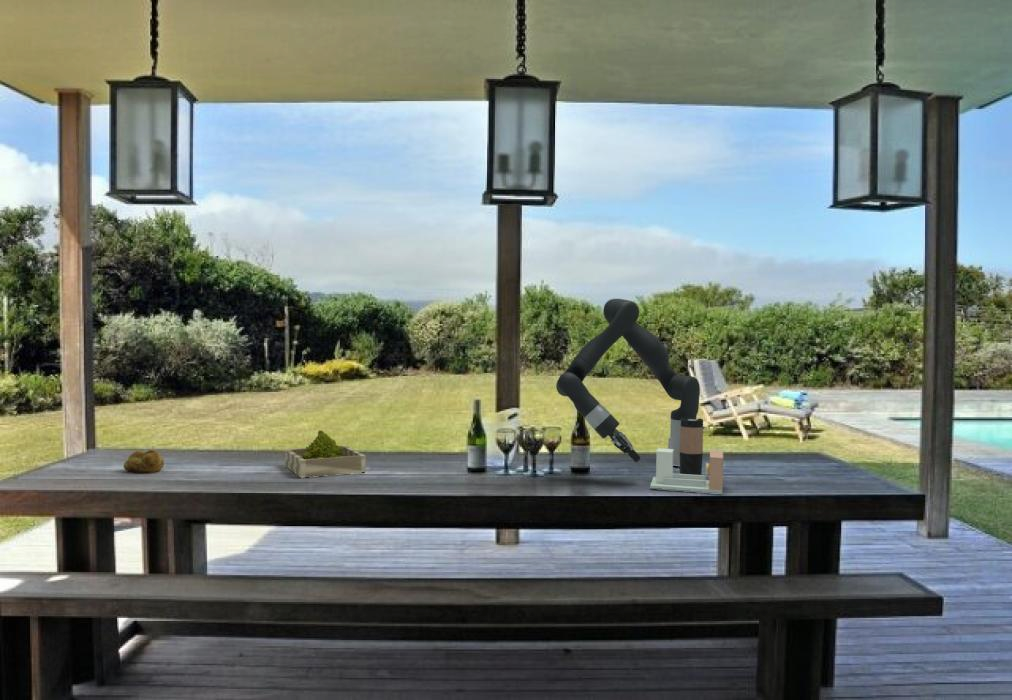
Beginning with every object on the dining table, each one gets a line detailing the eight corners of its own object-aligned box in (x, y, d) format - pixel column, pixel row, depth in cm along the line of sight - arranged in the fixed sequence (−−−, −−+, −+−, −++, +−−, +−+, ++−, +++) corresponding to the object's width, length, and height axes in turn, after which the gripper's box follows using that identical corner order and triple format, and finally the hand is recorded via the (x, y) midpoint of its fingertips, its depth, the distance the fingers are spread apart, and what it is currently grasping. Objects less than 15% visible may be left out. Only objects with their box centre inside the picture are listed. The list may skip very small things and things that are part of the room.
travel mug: (685, 480, 265) (687, 420, 264) (675, 475, 272) (676, 417, 272) (706, 479, 267) (707, 420, 266) (695, 474, 275) (696, 417, 274)
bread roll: (117, 473, 265) (117, 449, 264) (135, 467, 274) (135, 445, 274) (153, 475, 263) (153, 451, 263) (169, 469, 273) (169, 446, 272)
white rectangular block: (655, 482, 252) (656, 451, 252) (657, 478, 258) (657, 448, 258) (671, 483, 251) (672, 452, 251) (672, 479, 257) (673, 449, 257)
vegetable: (292, 464, 264) (306, 424, 272) (298, 480, 278) (311, 441, 285) (335, 472, 264) (348, 432, 272) (340, 488, 278) (351, 449, 285)
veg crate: (285, 466, 280) (285, 449, 279) (345, 461, 290) (345, 445, 290) (300, 478, 259) (300, 460, 259) (365, 473, 270) (365, 455, 270)
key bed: (650, 490, 249) (650, 453, 249) (653, 481, 263) (654, 446, 262) (722, 495, 243) (723, 458, 243) (721, 485, 257) (722, 450, 256)
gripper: (607, 415, 252) (645, 456, 249) (612, 411, 265) (648, 449, 262) (590, 431, 254) (628, 471, 251) (596, 425, 266) (632, 464, 264)
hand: (638, 460), depth 257 cm, fingers closed
